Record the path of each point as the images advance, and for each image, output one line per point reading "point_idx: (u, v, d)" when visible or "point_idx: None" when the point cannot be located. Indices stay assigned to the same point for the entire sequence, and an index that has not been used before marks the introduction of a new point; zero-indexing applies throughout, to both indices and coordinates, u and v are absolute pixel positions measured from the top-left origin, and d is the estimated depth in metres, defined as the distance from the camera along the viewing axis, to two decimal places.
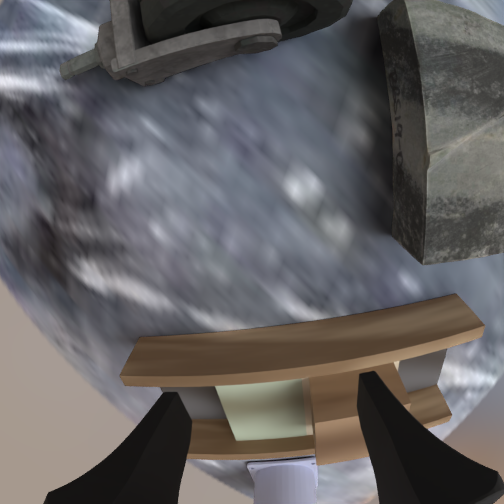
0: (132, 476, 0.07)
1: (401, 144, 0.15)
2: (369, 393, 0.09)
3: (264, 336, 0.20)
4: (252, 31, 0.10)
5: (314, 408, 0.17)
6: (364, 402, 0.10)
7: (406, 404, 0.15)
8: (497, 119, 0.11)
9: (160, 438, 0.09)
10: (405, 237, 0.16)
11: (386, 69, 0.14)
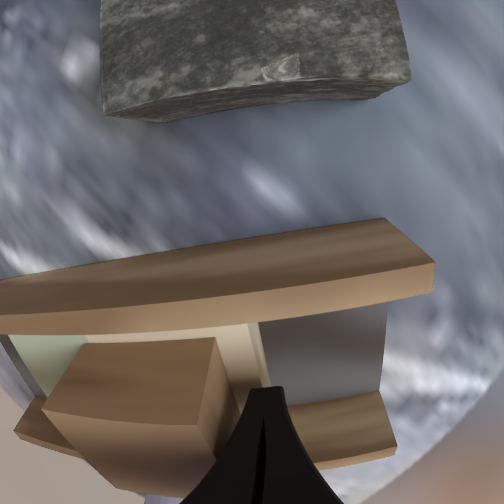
0: (253, 485, 0.06)
1: None
2: (264, 409, 0.09)
3: (54, 277, 0.13)
4: None
5: (55, 388, 0.09)
6: None
7: (187, 425, 0.07)
8: None
9: (263, 438, 0.08)
10: None
11: None
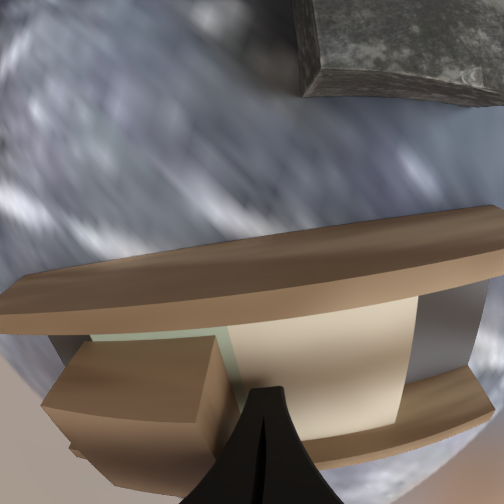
0: (253, 485, 0.06)
1: None
2: (264, 409, 0.09)
3: (168, 259, 0.12)
4: None
5: (55, 385, 0.09)
6: None
7: (185, 423, 0.07)
8: None
9: (263, 438, 0.08)
10: (306, 67, 0.08)
11: None
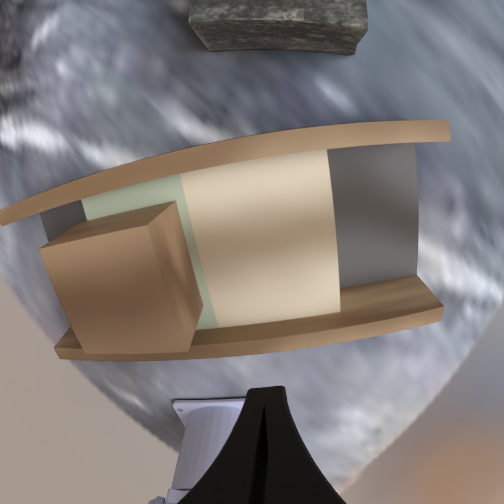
0: (251, 485, 0.06)
1: None
2: (266, 408, 0.09)
3: None
4: None
5: (53, 240, 0.13)
6: None
7: (140, 227, 0.11)
8: None
9: (261, 438, 0.08)
10: None
11: None
